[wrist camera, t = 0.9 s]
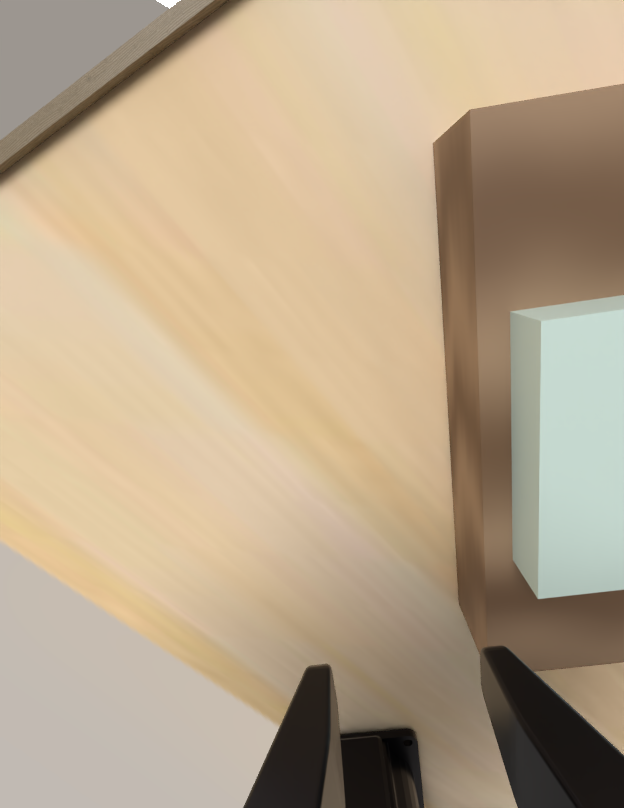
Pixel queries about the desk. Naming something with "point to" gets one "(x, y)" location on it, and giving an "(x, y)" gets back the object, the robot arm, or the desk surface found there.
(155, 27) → the thin grey panel
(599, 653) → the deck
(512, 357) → the block
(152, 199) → the desk surface
